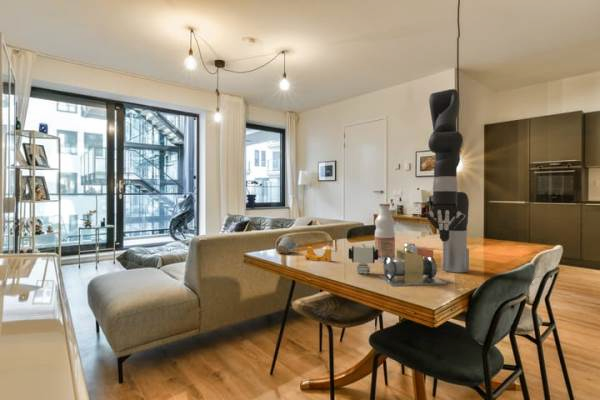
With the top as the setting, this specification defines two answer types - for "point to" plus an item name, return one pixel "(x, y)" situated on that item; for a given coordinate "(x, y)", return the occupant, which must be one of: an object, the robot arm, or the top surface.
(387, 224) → the fruit juice
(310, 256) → the pipe clamp
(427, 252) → the lever
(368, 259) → the pneumatic valve
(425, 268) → the valve body
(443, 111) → the robot arm
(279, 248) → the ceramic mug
